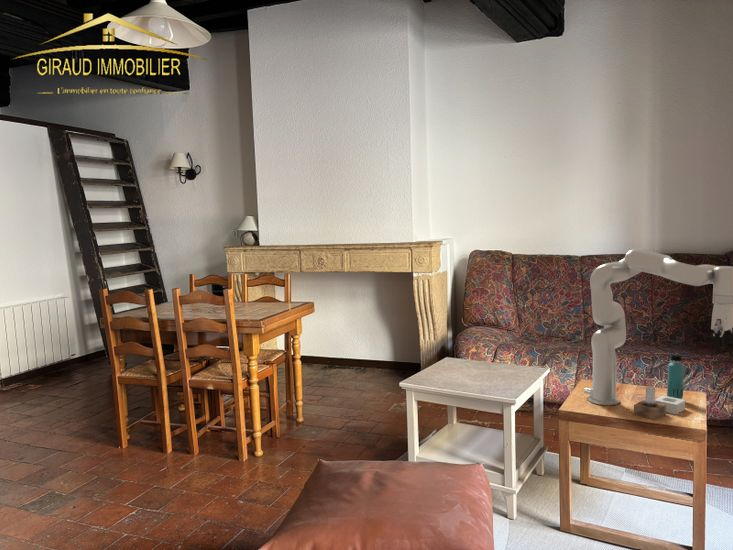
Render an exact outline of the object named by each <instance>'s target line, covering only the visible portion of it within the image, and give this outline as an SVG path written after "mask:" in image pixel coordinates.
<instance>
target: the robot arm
mask: <svg viewBox="0 0 733 550" xmlns="http://www.w3.org/2000/svg"><path fill="white" fill-rule="evenodd" d="M640 273H647V274H652V275H655V276H659V277H661V278H664V279H667V280H669V281H673V282H677V283H681V284H684V285H689V286H694V287H701V286H704V285H709V284H712V285H713V286H712V287H713V288H712V304H713V308H712V314H711V323H710V324H711V326H710V329H711V330H712V332H713V334H712V336H713V339H712V340H713V341H712V347H713V348H720V349H723V347H724V344H729V345H731V344H733V342H732V341H733V266H731V265H729V266H728V265H720V266H719V265H713V264H706V263H705V264H698V265H693V264H689V263H684V262H680V261H677V260H675V259H673V258H672V257H671V256H670V255H667V254H663V253H658V252H655V251H652V250H651V249H650V248H646V247H640V248H639V247H638V248H633V249H630V250H628V251H627V252H626V254H625V255H624V258H623V259H621V260H619V261H615V262H606V263H604V264H601V265H599V266H597V267H596V268H595V269H594V270H593V271H592V273H591V275H590V278H589V279H590V280H589V285H590V293H591V294H590V295H591V309H592V311H591V313H592V319H593V321H594V323H595V324H597V325H599V326H603V327H602V328H600V329H598V330H597V331H595V332H594V333H593V334H592V336H591V342H590V343H591V344H590V345H591V350H592V385H591V386H592V388H588V387H584V389H583V393H584V394H587V395H589V396H588V397H587V398H588V399H587V400H588V401H589V402H590V403H592V404H594V405H595V404H596V405H600V406H617V405H618V404H620V401H621V400H620V399H619V397H617V371H618V370H617V364H618V363H617V361H618V360H617V355H616V354H617V353H616V349H618V348H620V347H621V346H623V345H624V344H625V342H626V339H627V328H626V314H625V310H624V308H623V306H622V305H621V304H620V303H618V302H617V301H614V298H613V297H614V296H613V295H614V294H613V290H612V288H611V285H612V284H613V283H619V282H625V281H627V280H629V279H631V278H632V277H635V276H636V275H638V274H640Z"/></svg>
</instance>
